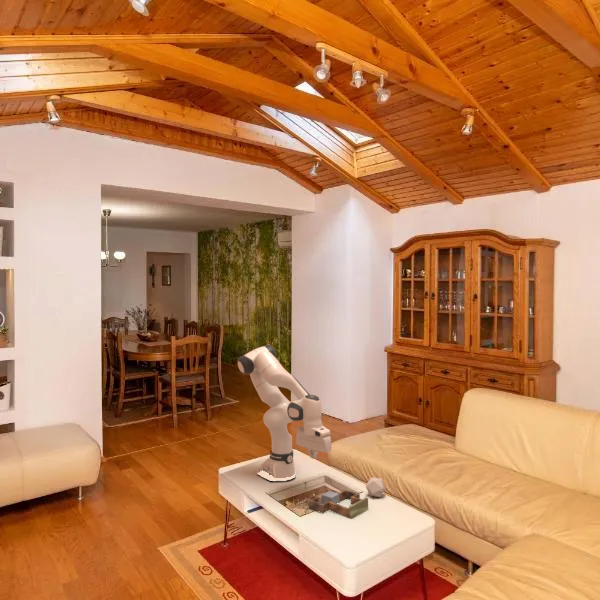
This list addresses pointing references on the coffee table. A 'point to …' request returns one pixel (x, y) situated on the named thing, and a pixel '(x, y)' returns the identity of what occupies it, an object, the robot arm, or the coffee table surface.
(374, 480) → the die
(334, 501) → the block
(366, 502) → the box
